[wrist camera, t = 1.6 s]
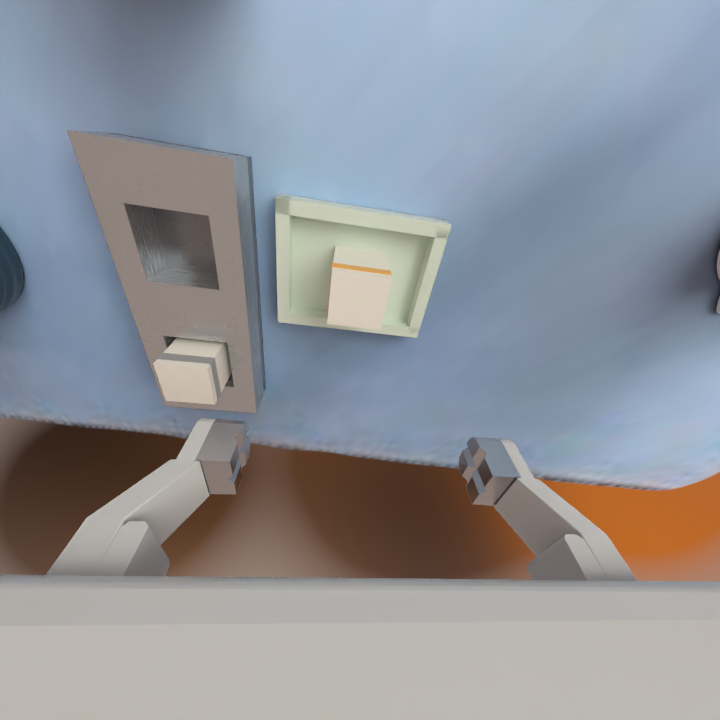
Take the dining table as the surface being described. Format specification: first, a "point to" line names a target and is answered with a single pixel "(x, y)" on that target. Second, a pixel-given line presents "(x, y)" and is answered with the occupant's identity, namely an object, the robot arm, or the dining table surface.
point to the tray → (363, 231)
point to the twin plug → (193, 370)
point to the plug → (358, 288)
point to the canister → (9, 273)
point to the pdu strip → (182, 249)
